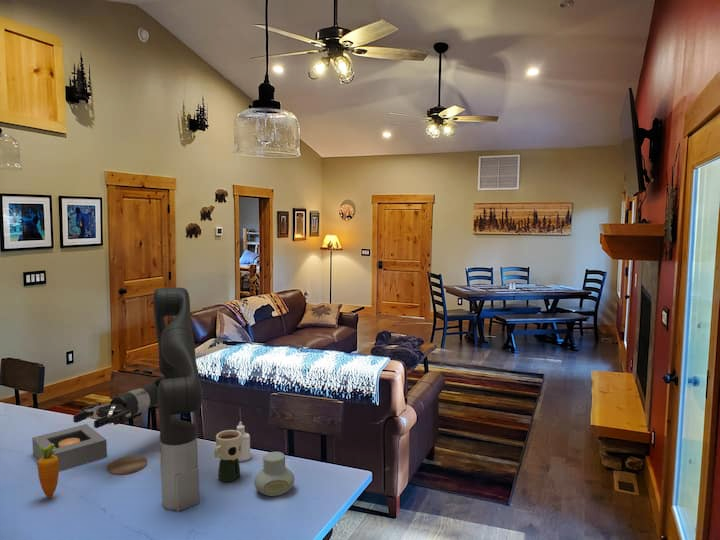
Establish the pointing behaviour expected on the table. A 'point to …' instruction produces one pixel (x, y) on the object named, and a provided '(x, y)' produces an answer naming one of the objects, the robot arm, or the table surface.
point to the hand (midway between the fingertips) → (84, 422)
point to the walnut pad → (127, 465)
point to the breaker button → (68, 442)
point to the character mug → (228, 454)
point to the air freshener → (274, 475)
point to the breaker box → (73, 446)
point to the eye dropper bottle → (244, 443)
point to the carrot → (48, 470)
